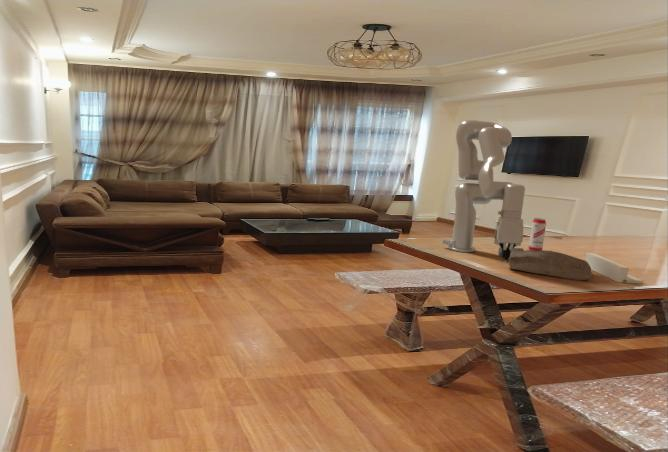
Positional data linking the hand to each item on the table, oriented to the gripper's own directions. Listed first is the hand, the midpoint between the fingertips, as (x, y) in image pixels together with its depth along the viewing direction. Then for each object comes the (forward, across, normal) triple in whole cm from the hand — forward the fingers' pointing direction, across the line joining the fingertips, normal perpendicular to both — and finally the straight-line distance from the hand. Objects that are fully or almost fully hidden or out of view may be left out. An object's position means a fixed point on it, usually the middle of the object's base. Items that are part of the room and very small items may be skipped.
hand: (505, 258), depth 184 cm
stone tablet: (+4, +17, 0) cm, 18 cm away
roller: (+1, +11, +19) cm, 22 cm away
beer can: (+4, +30, +38) cm, 49 cm away
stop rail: (+4, +45, 0) cm, 45 cm away
